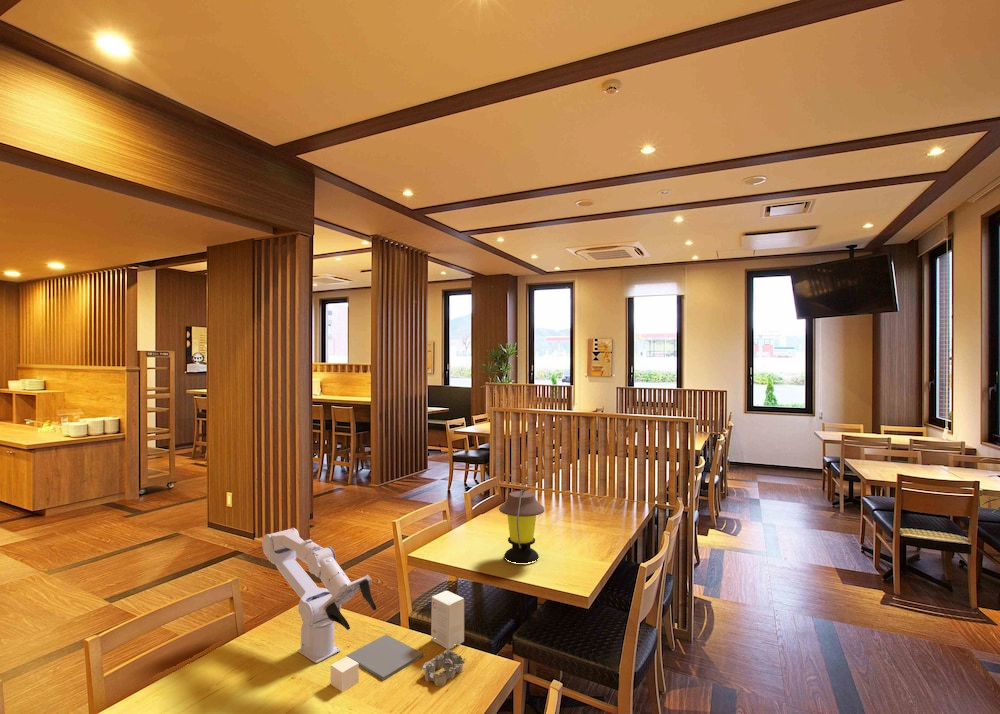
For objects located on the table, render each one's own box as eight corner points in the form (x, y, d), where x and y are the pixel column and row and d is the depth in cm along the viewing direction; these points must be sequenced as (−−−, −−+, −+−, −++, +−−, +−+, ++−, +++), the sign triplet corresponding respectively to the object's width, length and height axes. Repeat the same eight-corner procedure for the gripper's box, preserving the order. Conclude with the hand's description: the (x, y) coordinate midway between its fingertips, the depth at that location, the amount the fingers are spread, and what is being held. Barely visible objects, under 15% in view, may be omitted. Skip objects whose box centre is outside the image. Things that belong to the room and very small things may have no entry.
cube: (330, 684, 132) (330, 665, 132) (346, 675, 136) (347, 656, 136) (342, 692, 129) (342, 672, 129) (358, 682, 133) (358, 663, 133)
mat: (346, 658, 143) (346, 655, 143) (386, 636, 154) (386, 634, 154) (383, 680, 134) (383, 677, 134) (423, 656, 145) (423, 653, 145)
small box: (464, 642, 152) (464, 598, 152) (448, 650, 147) (448, 605, 148) (446, 632, 158) (446, 589, 158) (430, 640, 153) (430, 596, 153)
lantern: (520, 544, 233) (520, 478, 233) (556, 554, 221) (556, 485, 221) (485, 561, 213) (486, 489, 213) (523, 573, 201) (524, 497, 201)
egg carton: (439, 690, 130) (439, 674, 130) (419, 678, 135) (419, 663, 135) (467, 670, 139) (467, 655, 139) (448, 659, 143) (448, 645, 143)
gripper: (308, 589, 134) (333, 627, 126) (358, 557, 143) (384, 590, 134) (313, 604, 138) (337, 642, 130) (361, 572, 146) (387, 606, 138)
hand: (361, 617), depth 132 cm, fingers open, 7 cm apart
